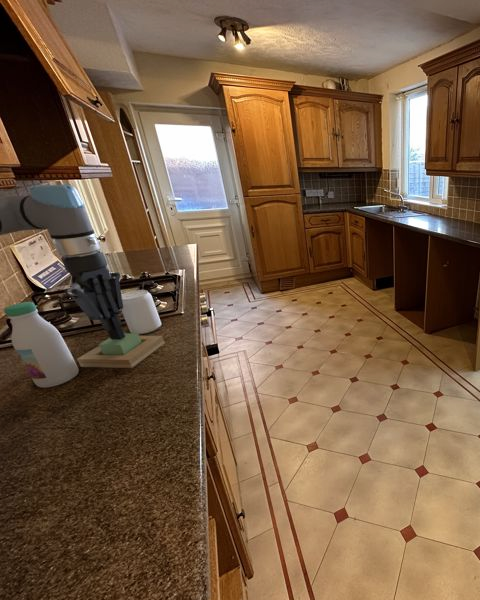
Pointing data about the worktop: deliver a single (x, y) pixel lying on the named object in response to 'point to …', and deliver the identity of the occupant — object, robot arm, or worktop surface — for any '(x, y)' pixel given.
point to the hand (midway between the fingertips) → (118, 337)
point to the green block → (120, 344)
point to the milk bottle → (40, 346)
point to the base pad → (122, 361)
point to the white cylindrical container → (140, 312)
